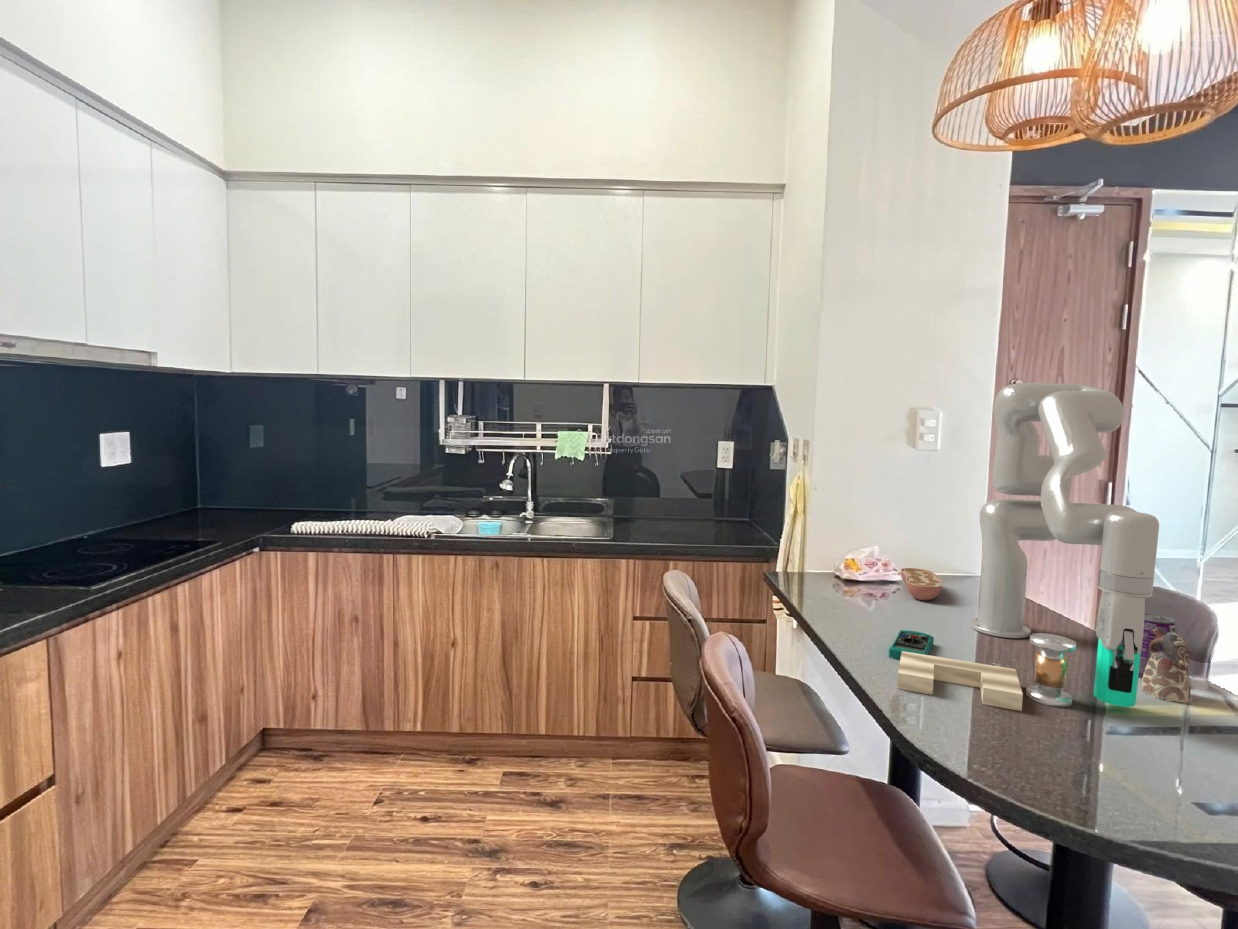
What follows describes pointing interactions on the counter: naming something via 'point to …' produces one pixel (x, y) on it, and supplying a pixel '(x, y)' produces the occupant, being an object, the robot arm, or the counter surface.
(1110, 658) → the candle
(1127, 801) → the counter surface
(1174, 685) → the figurine
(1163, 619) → the beverage can
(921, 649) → the digital multimeter
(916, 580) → the pink elongated rounded piece
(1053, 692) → the bobbin post
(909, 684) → the notched board
